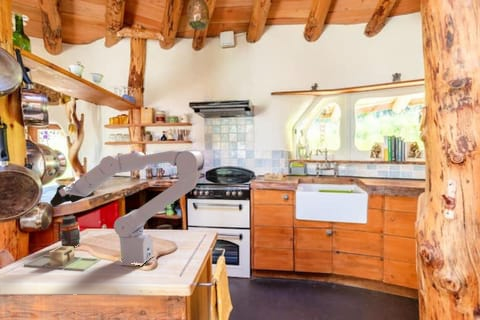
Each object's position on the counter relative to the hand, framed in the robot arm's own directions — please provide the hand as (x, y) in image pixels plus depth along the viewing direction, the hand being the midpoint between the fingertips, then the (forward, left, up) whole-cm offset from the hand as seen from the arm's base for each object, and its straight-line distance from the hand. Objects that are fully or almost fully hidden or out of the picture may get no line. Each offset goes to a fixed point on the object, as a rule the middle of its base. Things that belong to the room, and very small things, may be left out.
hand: (62, 202), depth 89 cm
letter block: (-2, +4, -19) cm, 19 cm away
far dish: (+5, +4, -19) cm, 20 cm away
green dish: (-10, +4, -19) cm, 22 cm away
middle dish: (-2, +4, -19) cm, 20 cm away
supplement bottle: (+6, -9, -20) cm, 22 cm away
